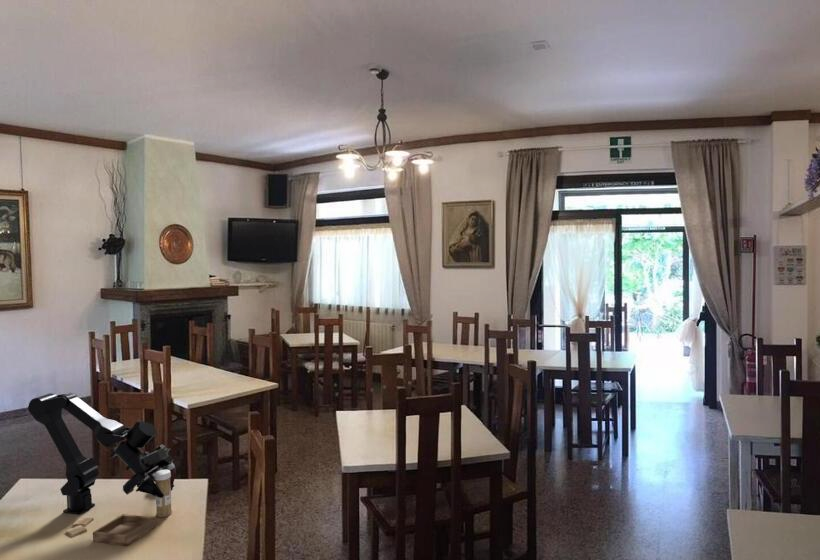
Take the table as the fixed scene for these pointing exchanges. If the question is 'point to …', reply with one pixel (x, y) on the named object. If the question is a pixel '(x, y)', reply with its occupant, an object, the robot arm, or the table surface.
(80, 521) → the oak tile
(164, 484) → the sprinkles bottle
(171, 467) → the mate gourd
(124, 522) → the box
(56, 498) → the table surface
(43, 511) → the table surface
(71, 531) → the oak tile
